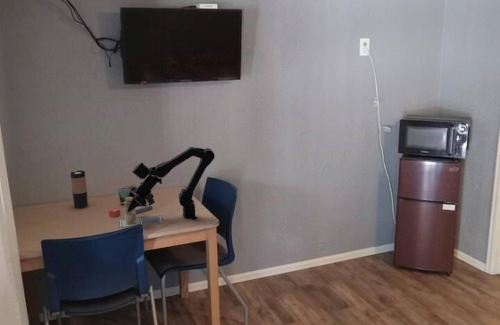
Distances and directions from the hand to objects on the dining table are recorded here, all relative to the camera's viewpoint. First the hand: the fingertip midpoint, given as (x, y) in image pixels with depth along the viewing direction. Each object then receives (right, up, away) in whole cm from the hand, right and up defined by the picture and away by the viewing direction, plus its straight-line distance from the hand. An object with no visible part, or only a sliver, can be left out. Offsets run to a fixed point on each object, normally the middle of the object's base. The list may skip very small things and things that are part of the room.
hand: (127, 208), depth 236 cm
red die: (-10, -6, +13) cm, 17 cm away
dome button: (+1, -3, +22) cm, 22 cm away
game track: (+6, -8, +4) cm, 11 cm away
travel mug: (-34, -2, +30) cm, 45 cm away
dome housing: (+1, -4, +22) cm, 22 cm away
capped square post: (+1, -7, +2) cm, 8 cm away
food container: (-7, -1, +35) cm, 35 cm away
